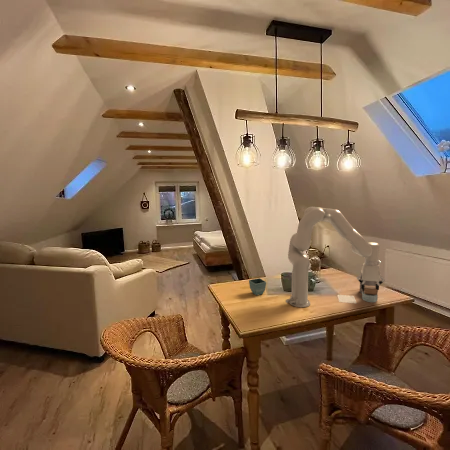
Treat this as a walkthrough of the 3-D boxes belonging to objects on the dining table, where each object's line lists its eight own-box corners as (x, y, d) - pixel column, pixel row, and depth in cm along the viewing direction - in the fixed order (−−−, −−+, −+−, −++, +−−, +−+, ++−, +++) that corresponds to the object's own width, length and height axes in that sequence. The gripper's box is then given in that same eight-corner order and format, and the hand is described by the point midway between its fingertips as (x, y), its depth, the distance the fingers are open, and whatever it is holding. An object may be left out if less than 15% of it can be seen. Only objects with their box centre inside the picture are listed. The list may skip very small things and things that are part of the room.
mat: (356, 304, 169) (356, 303, 169) (339, 302, 172) (339, 301, 172) (353, 296, 181) (353, 295, 181) (337, 295, 184) (337, 294, 184)
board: (377, 294, 170) (377, 290, 169) (364, 293, 172) (364, 289, 171) (374, 290, 176) (375, 286, 176) (362, 289, 178) (362, 285, 178)
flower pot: (255, 297, 183) (255, 284, 182) (248, 292, 191) (248, 280, 190) (266, 294, 187) (266, 281, 185) (259, 290, 195) (259, 278, 193)
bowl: (371, 303, 169) (371, 296, 169) (359, 299, 176) (359, 292, 176) (379, 301, 173) (380, 294, 173) (367, 296, 180) (368, 289, 180)
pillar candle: (364, 289, 193) (365, 268, 191) (378, 293, 185) (379, 271, 183) (356, 292, 188) (357, 270, 185) (370, 297, 179) (371, 274, 177)
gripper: (385, 261, 173) (384, 289, 175) (354, 260, 177) (353, 287, 180) (389, 265, 165) (387, 294, 168) (356, 263, 170) (355, 291, 173)
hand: (369, 290), depth 174 cm, fingers closed on board, 6 cm apart
